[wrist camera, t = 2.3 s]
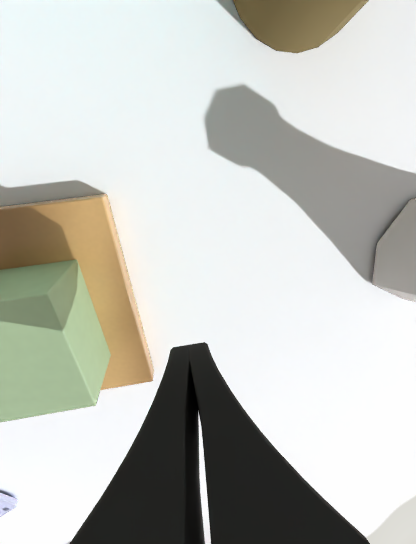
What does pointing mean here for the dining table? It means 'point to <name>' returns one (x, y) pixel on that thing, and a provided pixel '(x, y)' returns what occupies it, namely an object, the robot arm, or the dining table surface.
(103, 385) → the board
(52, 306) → the sage block
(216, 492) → the robot arm
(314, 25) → the cork
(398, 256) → the flask
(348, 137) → the dining table surface
